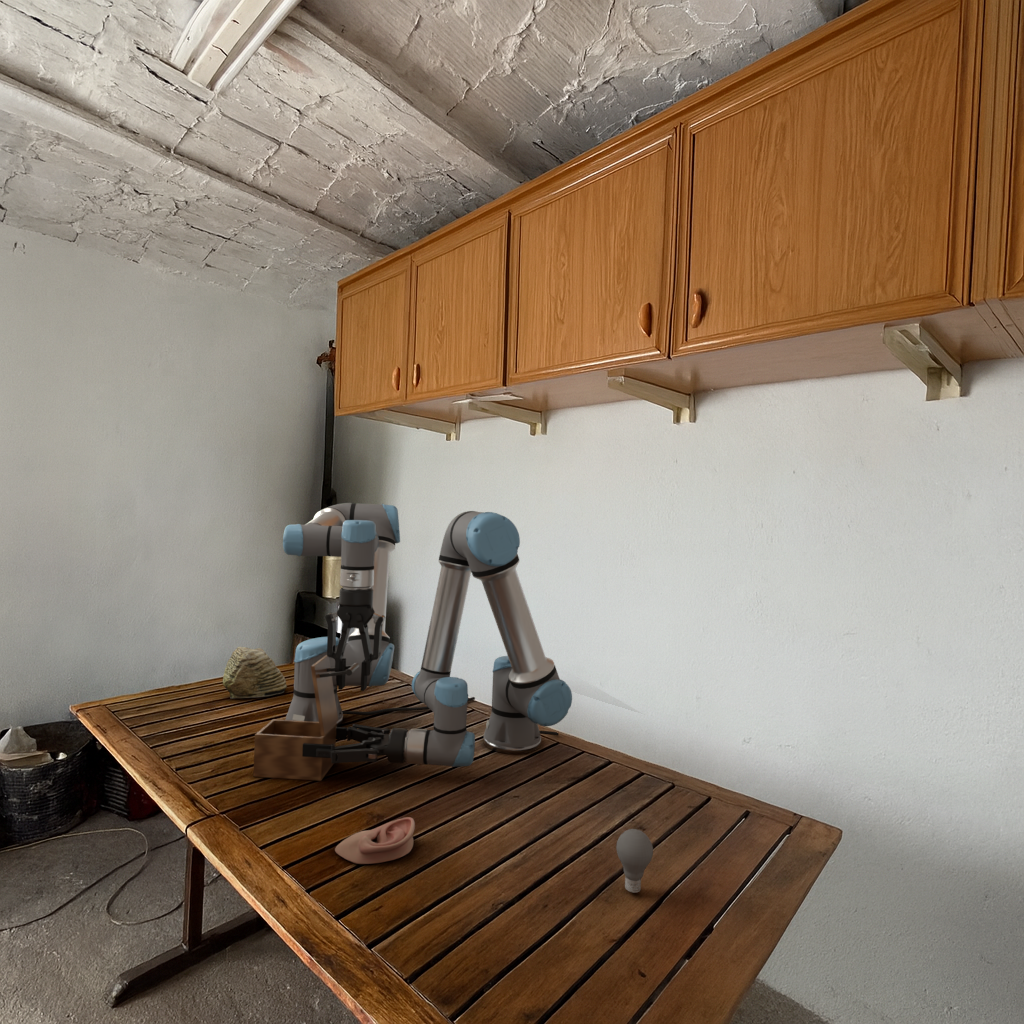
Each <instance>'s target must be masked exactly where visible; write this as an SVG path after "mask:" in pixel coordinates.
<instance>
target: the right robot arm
mask: <svg viewBox="0 0 1024 1024" xmlns="http://www.w3.org/2000/svg"><path fill="white" fill-rule="evenodd" d="M520 538H521V537H520V533H519V530H518V528H517V526H516V525H515V524H514V522H513V521H512V520H511V519H509V518H508V517H506V516H504V515H502V514H499V513H498V512H493V511H485V512H484V511H475V510H467V511H463V512H461V513H459V514H457V515H456V516H455V517H453V518H452V519H451V520H450V522H449V523H448V525H447V528H446V530H445V532H444V534H443V539H442V543H441V546H440V552H439V556H438V563H439V565H440V567H441V568H440V572H439V575H438V576H439V577H438V582H437V587H436V592H435V597H434V601H433V607H432V612H431V616H430V621H429V625H428V632H427V636H426V640H425V646H424V651H423V656H422V661H421V665H420V670H419V671H418V672H417V673H416V674H415V675H414V676H413V678H412V681H411V690H412V692H413V694H414V695H415V697H416V698H417V700H418V701H419V702H421V703H423V704H424V705H425V707H428V708H429V710H430V711H432V713H433V729H432V730H431V729H426V728H425V729H424V728H411V729H408V728H400V727H394V728H392V729H390V728H382V727H375V726H374V727H373V726H369V725H364V724H358V723H353V724H352V726H347V727H343V726H342V727H341V726H337V727H336V741H337V740H338V741H340V740H341V741H347V742H350V741H352V740H353V741H355V742H359V743H351V744H344V745H337V746H336V747H335V745H334V744H331V745H329V744H310V743H304V744H303V752H302V756H303V757H321V758H331V763H334V764H345V763H347V764H348V763H362V762H363V763H364V762H368V763H377V762H378V757H382V756H386V757H387V761H388V763H390V764H404V763H407V764H410V765H411V764H412V765H416V766H418V767H420V766H421V765H430V766H442V767H443V766H444V767H452V768H454V767H456V768H457V767H458V768H459V767H462V768H463V767H470V766H472V764H473V762H474V758H475V749H476V748H475V747H476V735H475V733H474V732H472V731H468V729H467V717H468V702H469V701H468V698H469V689H468V688H469V685H468V683H467V681H466V679H463V678H459V677H457V676H451V674H452V673H451V672H452V668H453V662H454V657H455V651H456V649H457V648H456V647H457V643H458V638H459V632H460V629H461V628H460V627H461V624H462V618H463V614H464V610H465V609H464V608H465V605H466V604H465V603H466V599H467V595H468V594H467V593H468V590H469V585H470V584H469V583H470V579H471V575H472V577H473V578H475V579H476V580H479V581H481V583H482V587H483V590H484V592H485V595H486V598H487V601H488V603H489V606H490V609H491V612H492V615H493V617H494V620H495V624H496V627H497V629H498V632H499V635H500V638H501V641H502V644H503V646H504V649H505V652H506V655H503V656H499V657H497V658H495V660H494V661H493V666H492V667H493V668H492V689H491V713H490V716H489V718H488V719H486V722H485V723H486V724H485V726H486V727H485V729H484V732H483V741H482V743H483V745H484V746H485V747H486V748H487V749H489V750H492V751H494V752H498V753H502V754H507V755H508V754H509V755H520V754H521V755H522V754H528V753H532V752H534V751H537V750H538V749H540V747H541V746H542V745H541V744H542V735H549V736H559V732H558V731H550V730H540V727H539V726H541V727H552V726H555V725H557V724H558V723H560V722H562V720H564V719H565V718H566V716H567V715H568V713H569V709H571V708H572V707H571V706H572V703H573V693H572V689H571V688H570V686H569V684H567V682H566V681H564V680H563V679H561V678H560V676H559V673H558V671H557V667H556V664H555V662H554V660H553V659H552V658H551V657H547V656H546V654H545V652H544V648H543V646H542V642H541V640H540V636H539V633H538V631H537V629H536V625H535V621H534V618H533V616H532V613H531V610H530V607H529V604H528V601H527V599H526V598H527V597H526V595H525V593H524V589H523V586H522V583H521V580H520V577H519V574H518V572H517V567H518V565H519V564H520V557H519V553H518V550H519V548H520V546H521V545H520V544H521V539H520ZM557 732H558V733H557Z"/></svg>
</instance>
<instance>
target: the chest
mask: <svg viewBox="0 0 1024 1024" xmlns="http://www.w3.org/2000/svg"><path fill="white" fill-rule="evenodd" d="M336 724H337V723H336ZM336 724H335V725H334V726H333V727H332V728H331V729H330V730H329V732H328V733H327V734H326V735H325V736H321V732H320V725H319V722H313V721H296V720H286V719H278V718H273V719H271V720H270V721H269V722H268V723H267V724H265V725H264V726H263V727H262V728H261V729H260V730H258V731H257V732H256V733H254V747H253V749H254V750H253V774H252V775H253V777H254V778H255V777H256V778H273V779H287V780H305V781H318V782H319V781H320V782H321V781H322V780H323V779H324V778H325V776H326V775H327V774H328V772H329V771H330V770H331V768H332V767H333V765H335V763H331V758H321V757H303V756H302V752H303V744H304V743H310V744H329V745H331V744H334V745H335V747H336V745H337V739H336Z"/></svg>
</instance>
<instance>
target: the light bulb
mask: <svg viewBox="0 0 1024 1024" xmlns="http://www.w3.org/2000/svg"><path fill="white" fill-rule="evenodd" d="M615 849H616V854H617V857H618V859H619V861H620V863H621V865H622V867H623V873H624V874H623V875H624V876H625V878H624V888H625V890H627V891H628V892H630V893H634V894H635V893H639V892H640V891H641V889H642V887H641V886H642V879H643V877H644V875H645V871H646V868H647V867H648V866H649V864H650V863H651V861H652V859H653V855H654V847H653V843H652V841H651V838H649V836H648V835H647V834H646V833H645V832H643V831H642V830H641V829H636V828H629V829H627V830H625V831H623V832H622V833H621V834H620V835H619V837H618V839H617V841H616V847H615Z"/></svg>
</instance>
